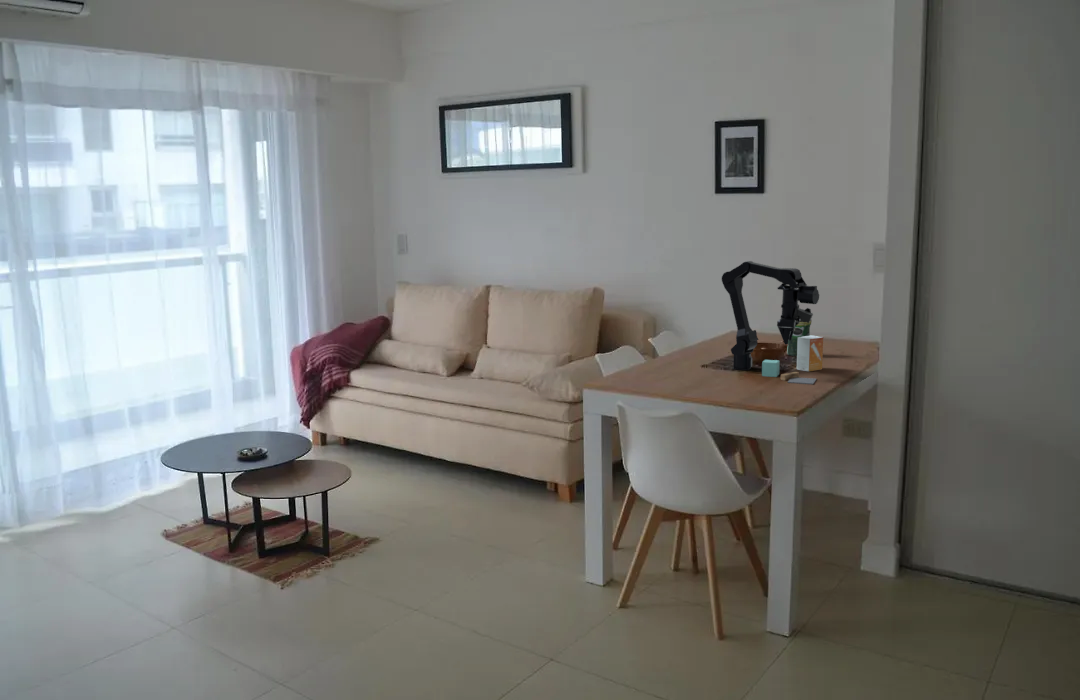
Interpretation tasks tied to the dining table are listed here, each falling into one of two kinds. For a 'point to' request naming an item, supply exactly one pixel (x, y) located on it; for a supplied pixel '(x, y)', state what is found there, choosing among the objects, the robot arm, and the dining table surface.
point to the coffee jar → (799, 331)
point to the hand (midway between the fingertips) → (788, 342)
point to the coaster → (802, 380)
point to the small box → (809, 353)
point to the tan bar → (789, 375)
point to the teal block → (770, 368)
